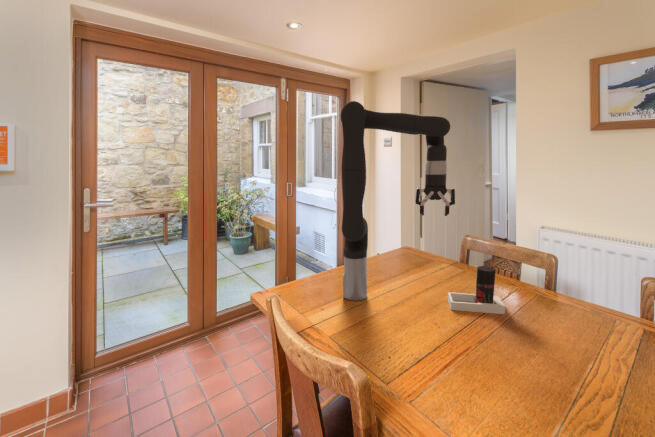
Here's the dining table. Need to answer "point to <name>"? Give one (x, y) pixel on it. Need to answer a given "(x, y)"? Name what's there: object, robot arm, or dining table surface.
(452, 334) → the dining table surface
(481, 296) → the deodorant
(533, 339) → the dining table surface
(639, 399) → the dining table surface
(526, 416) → the dining table surface
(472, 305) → the white rectangular frame
